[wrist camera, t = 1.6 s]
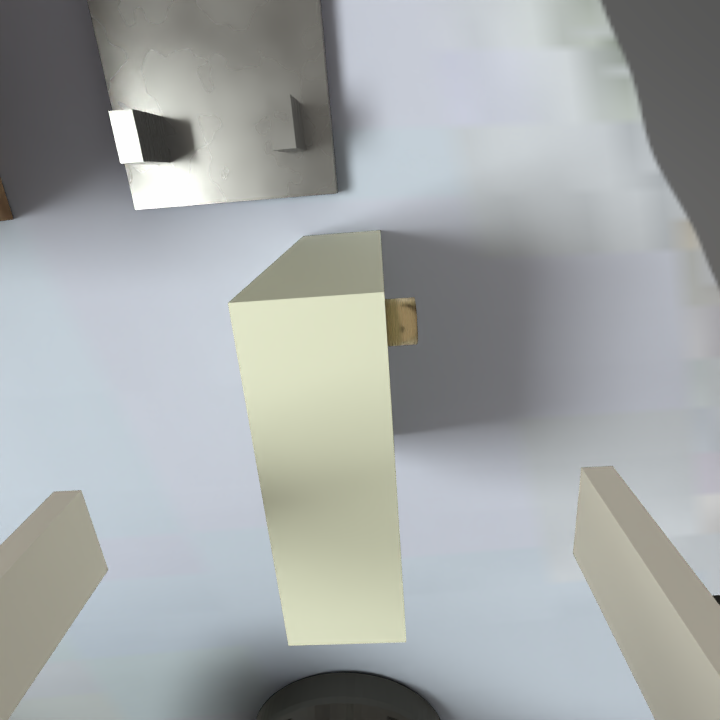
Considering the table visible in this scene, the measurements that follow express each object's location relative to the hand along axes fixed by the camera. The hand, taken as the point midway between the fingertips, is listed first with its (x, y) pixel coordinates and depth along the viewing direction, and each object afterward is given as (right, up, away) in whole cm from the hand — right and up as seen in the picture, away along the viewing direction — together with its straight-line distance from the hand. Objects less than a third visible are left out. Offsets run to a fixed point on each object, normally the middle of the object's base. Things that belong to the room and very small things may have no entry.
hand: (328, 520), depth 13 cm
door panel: (0, +5, +15) cm, 16 cm away
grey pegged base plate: (-6, +20, +9) cm, 23 cm away
